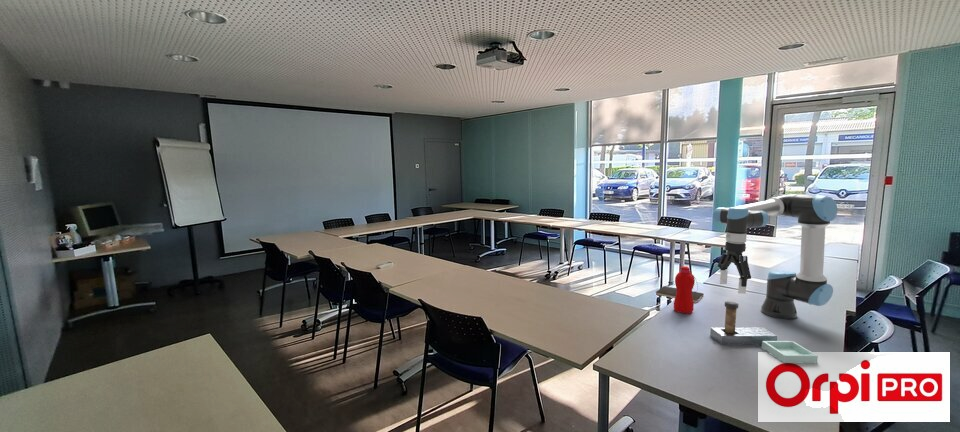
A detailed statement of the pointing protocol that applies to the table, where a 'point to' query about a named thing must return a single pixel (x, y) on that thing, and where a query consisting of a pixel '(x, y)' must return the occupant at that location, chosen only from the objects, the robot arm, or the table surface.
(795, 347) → the tray
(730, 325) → the pin
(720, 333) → the block
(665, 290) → the hardcover book
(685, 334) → the table surface
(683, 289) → the water bottle
